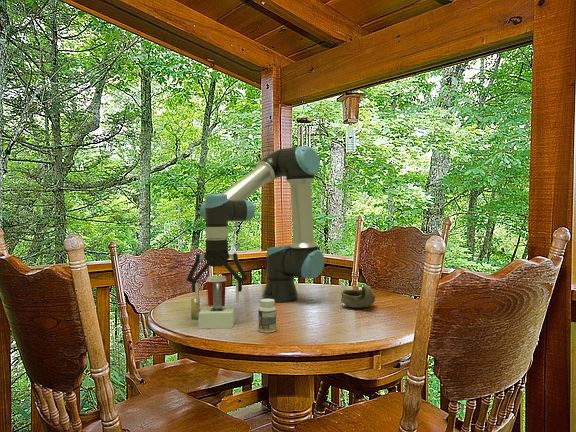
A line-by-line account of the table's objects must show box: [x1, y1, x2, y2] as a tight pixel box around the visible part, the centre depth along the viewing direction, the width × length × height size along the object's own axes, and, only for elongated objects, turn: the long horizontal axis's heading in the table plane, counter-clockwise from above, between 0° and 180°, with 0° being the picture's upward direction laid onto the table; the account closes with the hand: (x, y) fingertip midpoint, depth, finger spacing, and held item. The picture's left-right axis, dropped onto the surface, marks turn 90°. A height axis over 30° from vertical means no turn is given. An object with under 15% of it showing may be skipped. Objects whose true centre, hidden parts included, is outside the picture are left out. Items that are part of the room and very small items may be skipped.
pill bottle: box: [257, 298, 277, 334], centre depth 147 cm, size 6×6×10 cm
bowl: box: [340, 285, 376, 309], centre depth 179 cm, size 14×18×10 cm
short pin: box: [190, 297, 201, 320], centre depth 164 cm, size 3×3×7 cm
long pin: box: [213, 283, 222, 311], centre depth 156 cm, size 3×3×14 cm
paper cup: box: [205, 275, 227, 306], centre depth 171 cm, size 8×8×14 cm
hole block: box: [198, 305, 236, 330], centre depth 156 cm, size 11×11×5 cm
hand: (217, 301), depth 156 cm, fingers open, 13 cm apart
